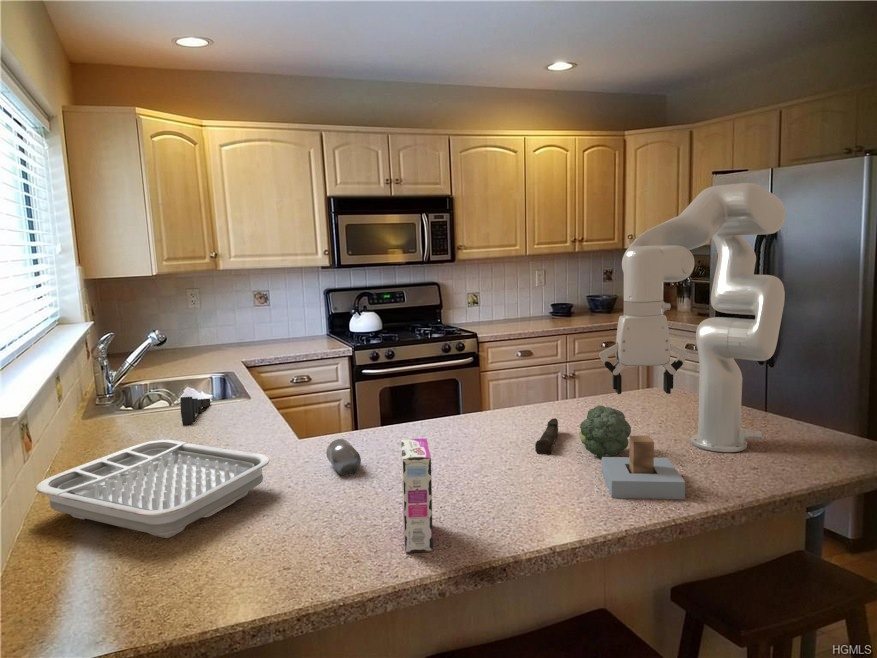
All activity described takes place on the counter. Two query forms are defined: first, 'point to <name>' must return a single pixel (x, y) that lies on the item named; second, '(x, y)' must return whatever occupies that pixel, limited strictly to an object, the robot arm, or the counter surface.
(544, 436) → the charcoal colored rounded log
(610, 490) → the socket block
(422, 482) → the candy bar box
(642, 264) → the robot arm
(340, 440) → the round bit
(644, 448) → the square bit
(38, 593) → the counter surface
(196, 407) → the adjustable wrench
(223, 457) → the dish rack
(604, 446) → the vegetable
